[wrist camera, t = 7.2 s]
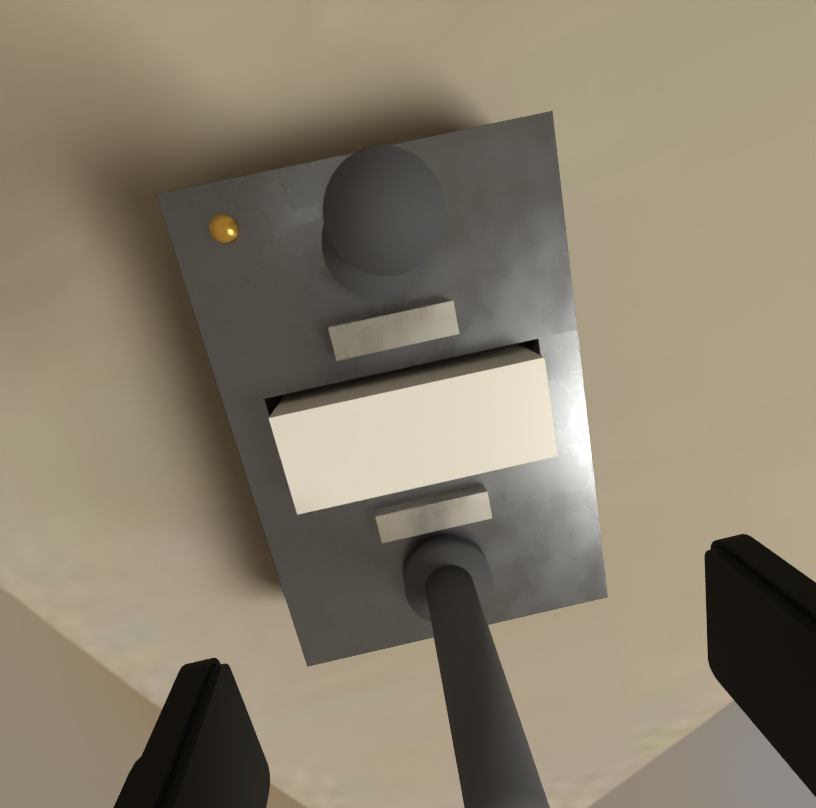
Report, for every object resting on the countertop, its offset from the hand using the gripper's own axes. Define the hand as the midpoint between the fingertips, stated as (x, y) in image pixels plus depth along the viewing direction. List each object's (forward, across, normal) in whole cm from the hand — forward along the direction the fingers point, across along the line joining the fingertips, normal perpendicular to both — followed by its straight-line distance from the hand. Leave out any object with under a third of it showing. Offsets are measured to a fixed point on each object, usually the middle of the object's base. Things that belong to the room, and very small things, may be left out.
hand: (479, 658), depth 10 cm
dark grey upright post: (+17, 0, -8) cm, 19 cm away
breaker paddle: (+21, 0, +1) cm, 21 cm away
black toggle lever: (+16, 0, +10) cm, 19 cm away
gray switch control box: (+22, 0, +1) cm, 23 cm away
